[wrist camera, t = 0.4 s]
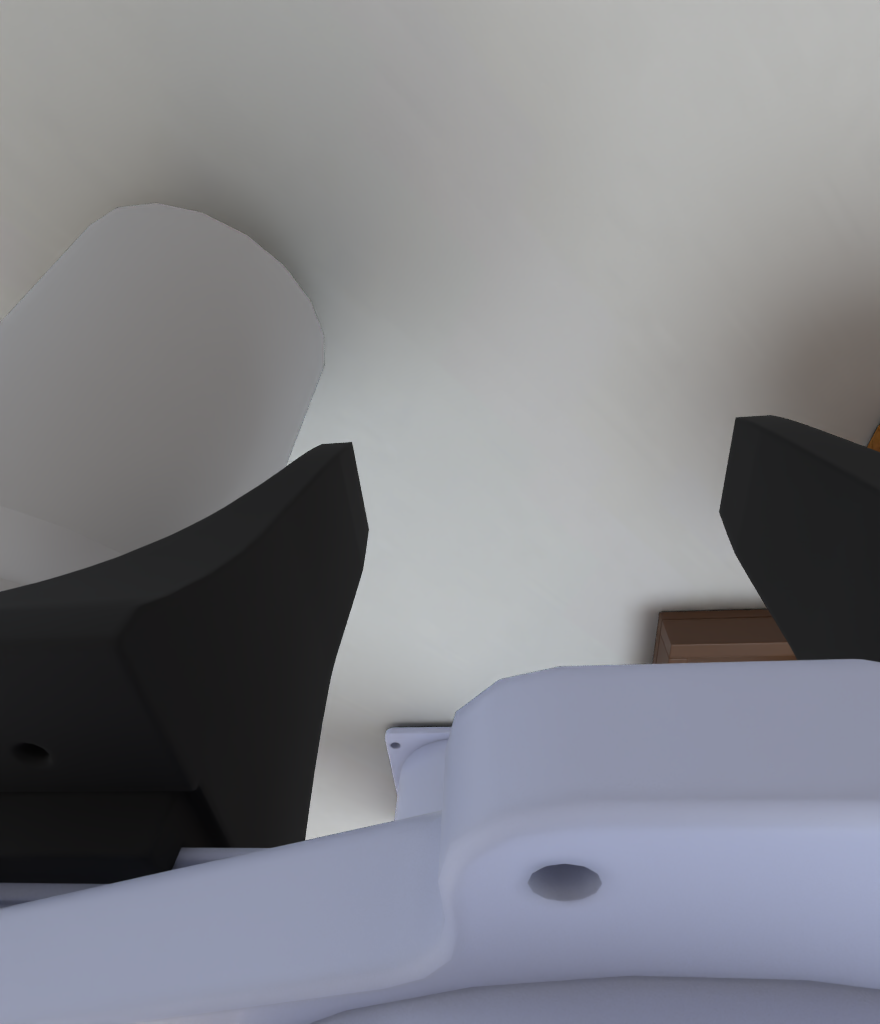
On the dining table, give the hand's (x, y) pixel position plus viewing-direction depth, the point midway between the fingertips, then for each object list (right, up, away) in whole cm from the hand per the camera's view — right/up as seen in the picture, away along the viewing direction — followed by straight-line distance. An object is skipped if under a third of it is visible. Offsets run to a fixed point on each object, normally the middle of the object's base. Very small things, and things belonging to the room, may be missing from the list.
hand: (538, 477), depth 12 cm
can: (-9, +6, +7) cm, 13 cm away
